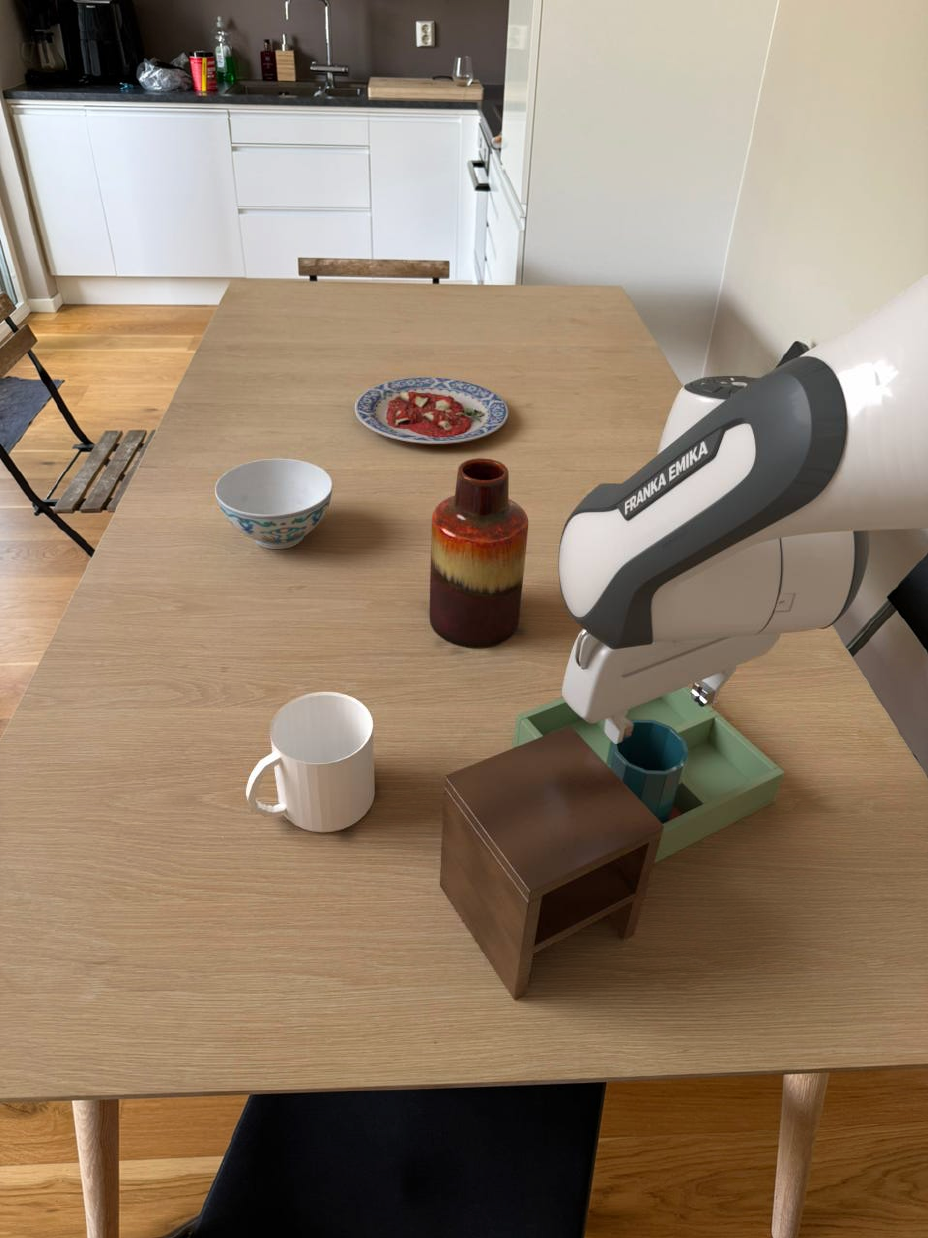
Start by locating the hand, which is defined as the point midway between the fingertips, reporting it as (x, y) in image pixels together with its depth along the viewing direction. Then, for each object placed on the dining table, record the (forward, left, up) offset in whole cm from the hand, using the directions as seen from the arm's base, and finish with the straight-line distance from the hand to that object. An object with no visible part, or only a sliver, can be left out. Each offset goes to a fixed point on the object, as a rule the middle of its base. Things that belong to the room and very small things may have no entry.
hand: (661, 718), depth 75 cm
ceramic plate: (+85, -24, -14) cm, 89 cm away
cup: (0, 0, -13) cm, 13 cm away
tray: (+5, -4, -14) cm, 15 cm away
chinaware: (+62, +12, -14) cm, 64 cm away
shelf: (-3, +14, -14) cm, 20 cm away
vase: (+34, -2, -14) cm, 36 cm away
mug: (+17, +26, -14) cm, 34 cm away
